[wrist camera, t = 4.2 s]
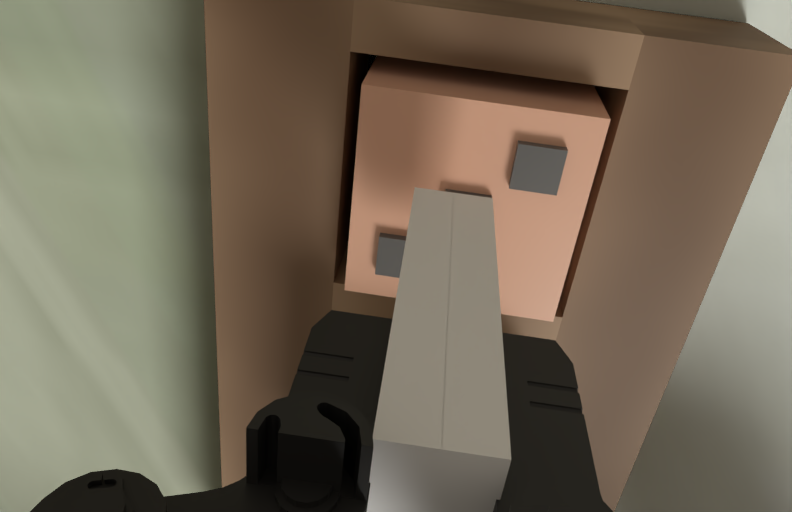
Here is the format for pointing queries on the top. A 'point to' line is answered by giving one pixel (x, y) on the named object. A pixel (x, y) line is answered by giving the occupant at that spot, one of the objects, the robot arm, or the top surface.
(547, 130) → the tile three
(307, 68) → the brown flat block
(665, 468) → the top surface
